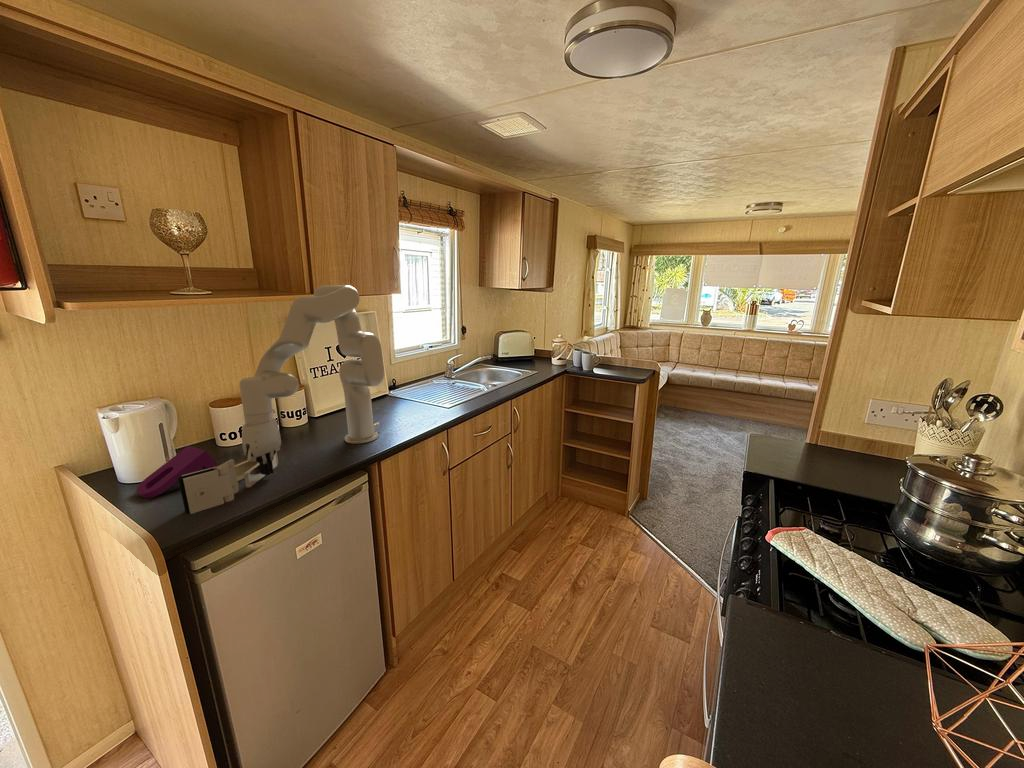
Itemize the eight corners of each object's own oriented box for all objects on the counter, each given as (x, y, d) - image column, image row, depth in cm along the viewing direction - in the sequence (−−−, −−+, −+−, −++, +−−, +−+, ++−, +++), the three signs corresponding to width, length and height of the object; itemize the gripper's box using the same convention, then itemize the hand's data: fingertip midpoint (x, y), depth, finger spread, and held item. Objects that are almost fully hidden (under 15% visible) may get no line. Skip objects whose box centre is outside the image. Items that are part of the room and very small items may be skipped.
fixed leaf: (273, 462, 140) (271, 449, 139) (280, 463, 139) (278, 450, 138) (223, 486, 124) (220, 471, 123) (230, 487, 123) (228, 472, 122)
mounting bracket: (167, 515, 119) (222, 468, 131) (147, 497, 114) (205, 450, 127) (150, 507, 123) (205, 463, 136) (130, 490, 118) (188, 445, 131)
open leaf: (273, 465, 137) (271, 453, 136) (277, 465, 137) (275, 453, 136) (246, 487, 122) (243, 473, 121) (250, 487, 122) (247, 473, 121)
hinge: (237, 490, 121) (232, 458, 119) (247, 495, 119) (242, 462, 116) (182, 511, 110) (175, 477, 107) (191, 517, 107) (184, 482, 105)
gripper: (270, 409, 132) (277, 462, 136) (226, 423, 118) (236, 482, 122) (289, 411, 130) (295, 465, 134) (246, 426, 116) (255, 485, 120)
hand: (267, 473), depth 128 cm, fingers closed
